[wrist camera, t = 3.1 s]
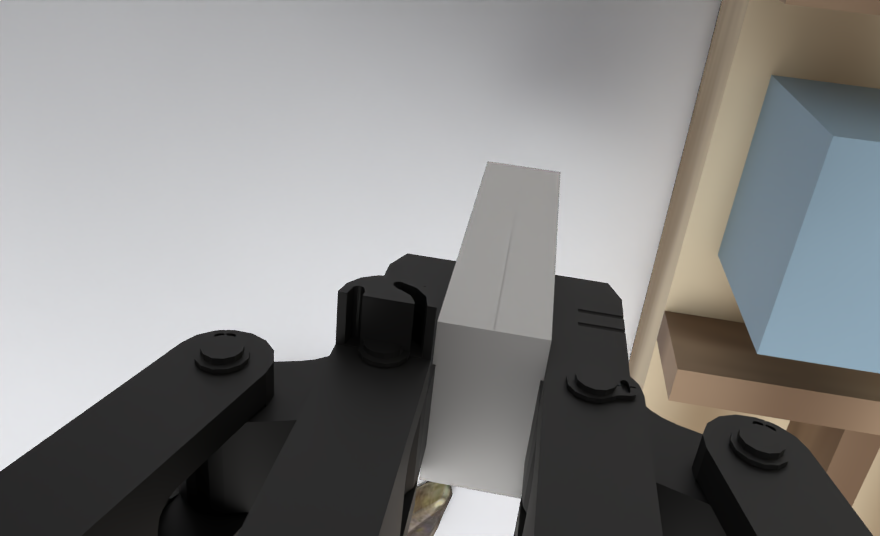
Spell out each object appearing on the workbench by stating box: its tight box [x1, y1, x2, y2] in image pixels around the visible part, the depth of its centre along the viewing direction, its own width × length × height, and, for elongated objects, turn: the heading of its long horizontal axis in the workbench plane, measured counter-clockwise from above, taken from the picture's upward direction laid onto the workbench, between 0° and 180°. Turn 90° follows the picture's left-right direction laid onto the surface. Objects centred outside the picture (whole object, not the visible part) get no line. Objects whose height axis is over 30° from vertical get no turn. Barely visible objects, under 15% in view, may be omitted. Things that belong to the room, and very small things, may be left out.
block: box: [718, 75, 880, 373], centre depth 18 cm, size 5×5×5 cm
